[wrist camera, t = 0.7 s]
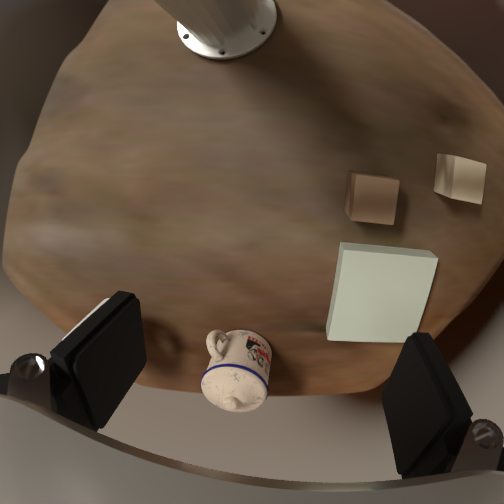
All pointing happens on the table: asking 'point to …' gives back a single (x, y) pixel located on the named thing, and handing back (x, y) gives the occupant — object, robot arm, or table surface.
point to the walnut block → (371, 197)
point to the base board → (379, 292)
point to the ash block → (459, 178)
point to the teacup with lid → (237, 370)
